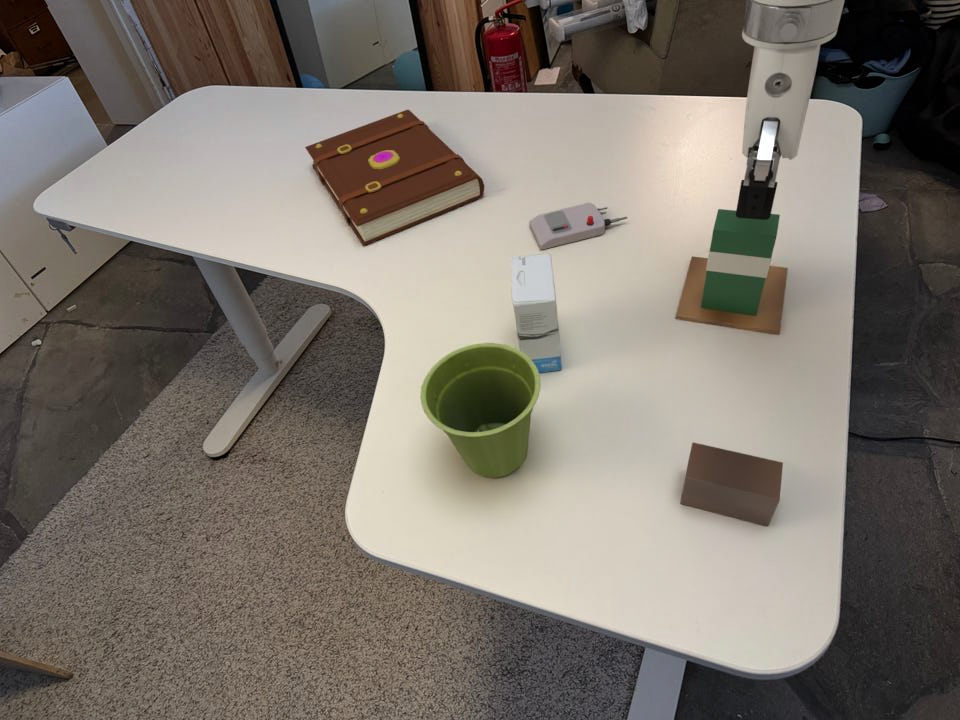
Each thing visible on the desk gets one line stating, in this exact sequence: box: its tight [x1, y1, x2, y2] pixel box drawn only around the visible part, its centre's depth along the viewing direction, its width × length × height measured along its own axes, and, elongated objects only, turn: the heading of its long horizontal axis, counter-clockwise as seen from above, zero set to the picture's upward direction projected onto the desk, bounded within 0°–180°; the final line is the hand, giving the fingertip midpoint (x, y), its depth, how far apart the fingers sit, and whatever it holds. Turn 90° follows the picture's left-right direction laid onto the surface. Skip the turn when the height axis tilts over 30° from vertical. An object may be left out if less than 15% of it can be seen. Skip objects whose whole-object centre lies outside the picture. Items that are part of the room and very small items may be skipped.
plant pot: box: [420, 342, 541, 479], centre depth 63 cm, size 12×12×11 cm
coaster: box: [675, 256, 788, 336], centre depth 77 cm, size 12×12×1 cm
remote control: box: [528, 202, 628, 251], centre depth 91 cm, size 7×16×3 cm, turn 102°
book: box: [304, 109, 485, 247], centre depth 108 cm, size 23×32×5 cm
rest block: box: [679, 442, 784, 528], centre depth 57 cm, size 8×4×5 cm, turn 68°
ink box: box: [510, 252, 562, 374], centre depth 72 cm, size 8×5×12 cm, turn 179°
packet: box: [701, 208, 781, 316], centre depth 72 cm, size 9×7×12 cm
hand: (757, 190), depth 64 cm, fingers open, 9 cm apart
